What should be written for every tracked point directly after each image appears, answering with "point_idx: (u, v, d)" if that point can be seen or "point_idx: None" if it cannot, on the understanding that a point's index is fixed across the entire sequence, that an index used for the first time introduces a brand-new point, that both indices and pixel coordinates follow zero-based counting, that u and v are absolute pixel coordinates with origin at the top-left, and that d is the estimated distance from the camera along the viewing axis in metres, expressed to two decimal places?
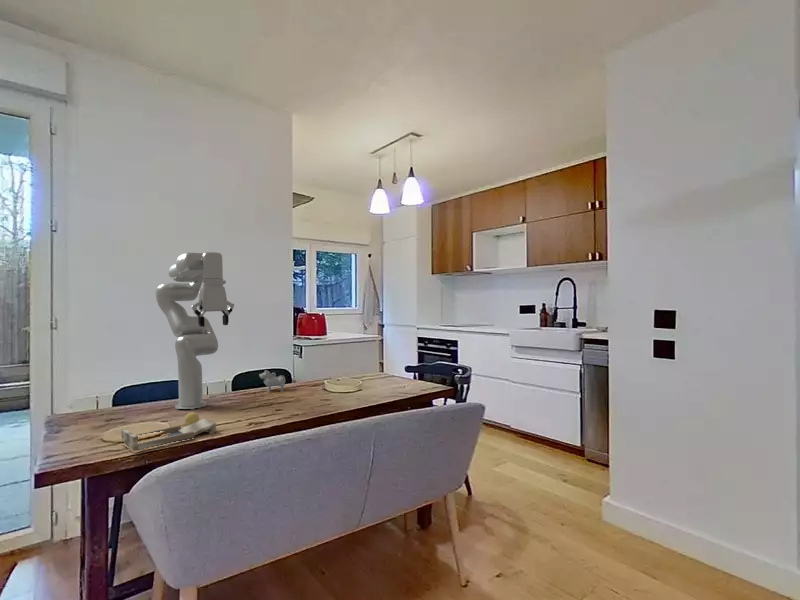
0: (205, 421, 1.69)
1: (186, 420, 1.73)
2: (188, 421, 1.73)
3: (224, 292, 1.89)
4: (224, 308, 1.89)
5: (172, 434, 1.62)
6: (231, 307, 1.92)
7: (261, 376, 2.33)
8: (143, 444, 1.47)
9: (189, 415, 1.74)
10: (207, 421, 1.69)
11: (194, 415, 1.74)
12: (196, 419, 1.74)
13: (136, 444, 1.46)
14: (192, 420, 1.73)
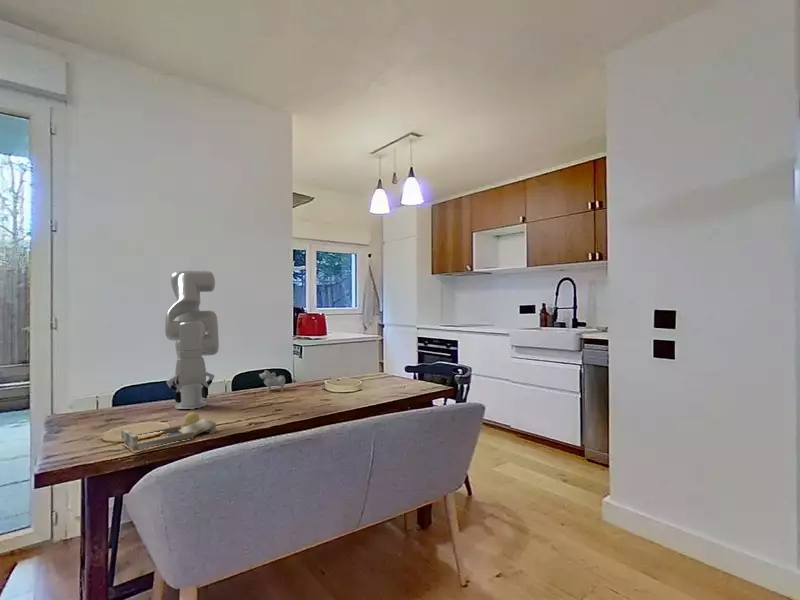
0: (205, 421, 1.69)
1: (186, 420, 1.73)
2: (188, 421, 1.73)
3: (203, 363, 1.76)
4: (203, 381, 1.76)
5: (172, 434, 1.62)
6: (211, 378, 1.80)
7: (261, 376, 2.33)
8: (143, 444, 1.47)
9: (189, 415, 1.74)
10: (207, 421, 1.69)
11: (194, 415, 1.74)
12: (196, 419, 1.74)
13: (136, 444, 1.46)
14: (192, 420, 1.73)
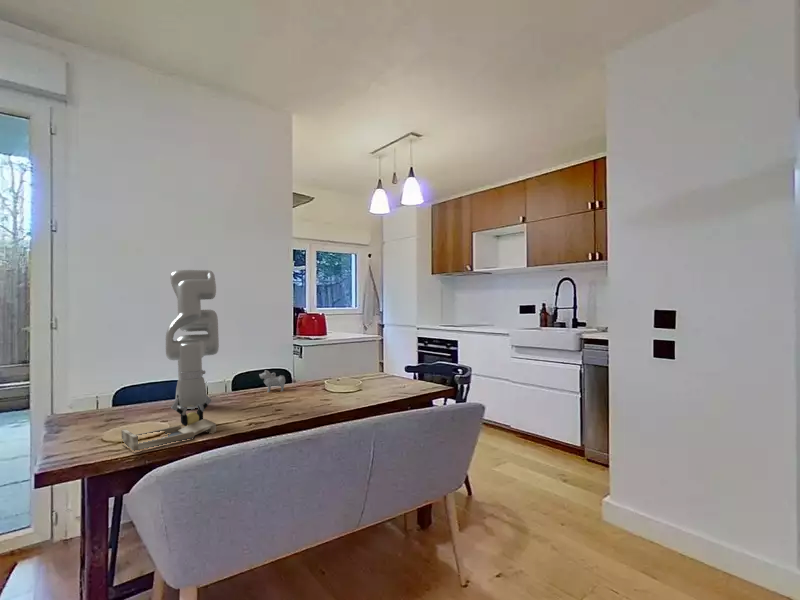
0: (205, 421, 1.69)
1: None
2: (188, 421, 1.73)
3: (203, 384, 1.76)
4: (203, 401, 1.76)
5: (172, 434, 1.62)
6: (207, 402, 1.79)
7: (261, 376, 2.33)
8: (143, 444, 1.47)
9: (189, 415, 1.74)
10: (207, 421, 1.69)
11: (194, 415, 1.74)
12: (196, 419, 1.74)
13: (136, 444, 1.46)
14: (192, 420, 1.73)
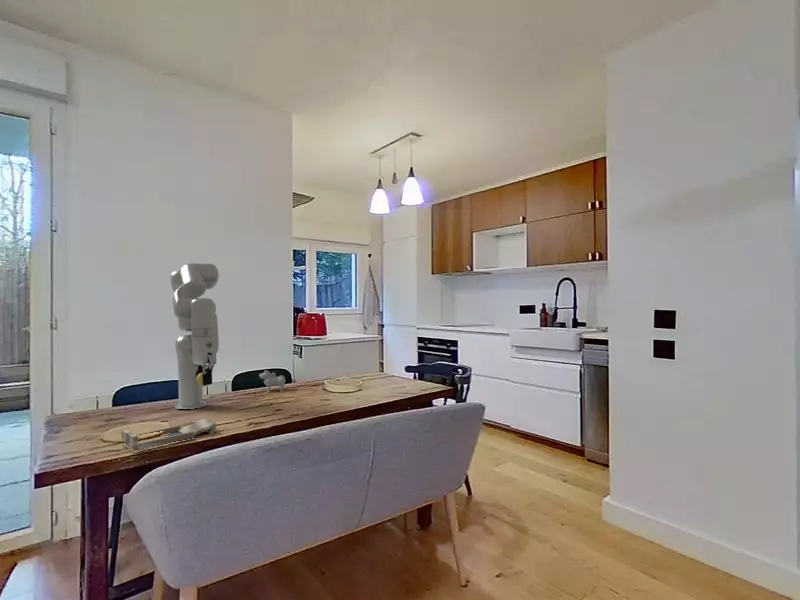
0: (205, 421, 1.69)
1: None
2: None
3: (201, 344, 1.63)
4: (202, 363, 1.63)
5: (172, 434, 1.62)
6: (209, 366, 1.63)
7: (261, 376, 2.33)
8: (143, 444, 1.47)
9: None
10: (207, 421, 1.69)
11: (198, 375, 1.66)
12: (197, 380, 1.65)
13: (136, 444, 1.46)
14: (196, 379, 1.66)
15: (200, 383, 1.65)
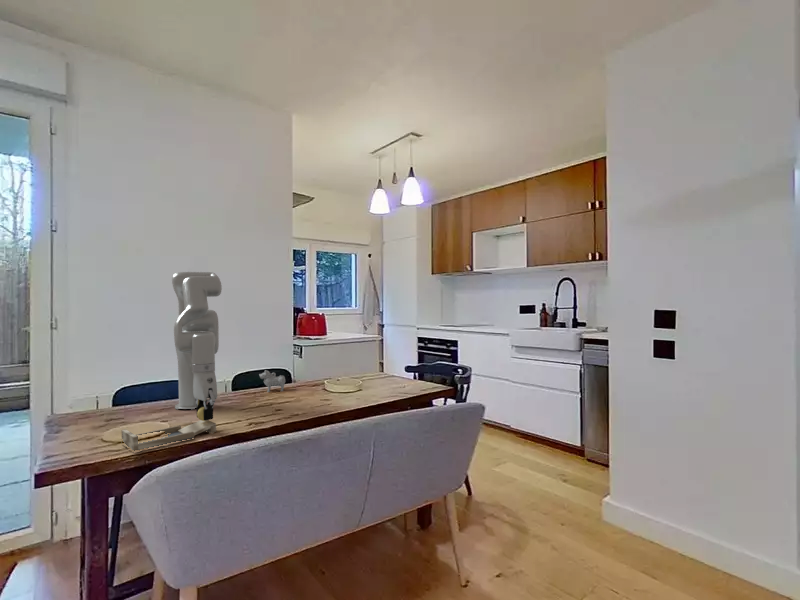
0: (205, 421, 1.69)
1: None
2: None
3: (202, 380, 1.63)
4: (203, 398, 1.64)
5: (172, 434, 1.62)
6: (210, 401, 1.63)
7: (261, 376, 2.33)
8: (143, 444, 1.47)
9: (200, 408, 1.68)
10: (207, 421, 1.69)
11: (199, 410, 1.66)
12: (198, 415, 1.66)
13: (136, 444, 1.46)
14: (197, 414, 1.67)
15: (201, 418, 1.66)
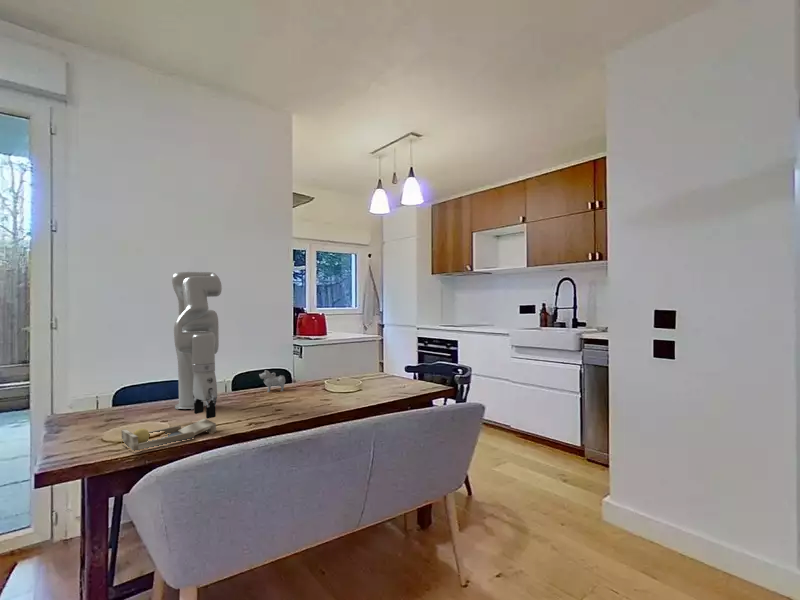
0: (205, 421, 1.69)
1: None
2: None
3: (202, 380, 1.63)
4: (203, 398, 1.64)
5: (172, 434, 1.62)
6: (212, 398, 1.62)
7: (261, 376, 2.33)
8: (143, 444, 1.47)
9: None
10: (207, 421, 1.69)
11: None
12: None
13: (136, 444, 1.46)
14: None
15: (149, 435, 1.53)
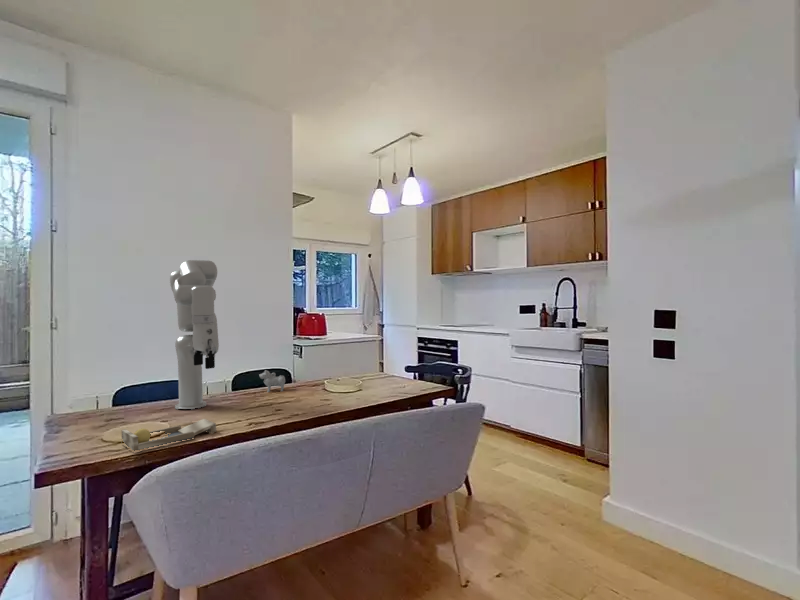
0: (205, 421, 1.69)
1: None
2: None
3: (202, 331, 1.66)
4: (202, 349, 1.66)
5: (172, 434, 1.62)
6: (211, 349, 1.64)
7: (261, 376, 2.33)
8: (143, 444, 1.47)
9: None
10: (207, 421, 1.69)
11: None
12: None
13: (136, 444, 1.46)
14: None
15: None
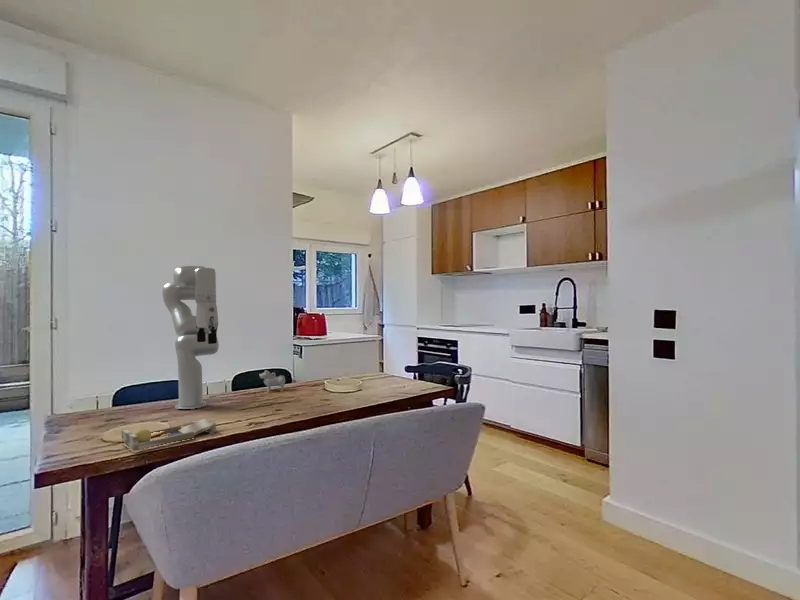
0: (205, 421, 1.69)
1: None
2: None
3: (204, 309, 1.79)
4: (205, 326, 1.79)
5: (172, 434, 1.62)
6: (213, 325, 1.78)
7: (261, 376, 2.33)
8: (143, 444, 1.47)
9: None
10: (207, 421, 1.69)
11: None
12: None
13: (136, 444, 1.46)
14: None
15: (150, 437, 1.53)
